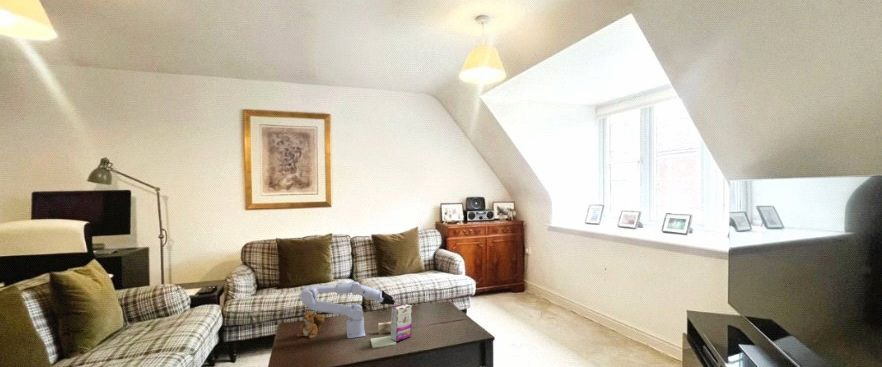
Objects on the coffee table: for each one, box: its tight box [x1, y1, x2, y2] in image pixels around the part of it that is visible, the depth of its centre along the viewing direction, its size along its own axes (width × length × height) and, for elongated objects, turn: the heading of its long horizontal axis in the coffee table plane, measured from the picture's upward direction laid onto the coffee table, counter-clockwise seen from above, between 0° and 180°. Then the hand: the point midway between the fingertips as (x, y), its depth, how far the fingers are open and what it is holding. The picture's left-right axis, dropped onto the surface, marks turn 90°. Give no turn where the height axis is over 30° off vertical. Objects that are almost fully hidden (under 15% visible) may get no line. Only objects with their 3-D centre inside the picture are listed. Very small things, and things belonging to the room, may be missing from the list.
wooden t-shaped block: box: [377, 319, 391, 334], centre depth 212 cm, size 8×7×5 cm
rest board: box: [370, 335, 397, 349], centre depth 198 cm, size 12×10×1 cm
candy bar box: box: [390, 303, 413, 342], centre depth 202 cm, size 11×5×16 cm, turn 140°
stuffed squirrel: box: [296, 310, 326, 339], centre depth 211 cm, size 10×14×13 cm
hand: (393, 301), depth 214 cm, fingers open, 7 cm apart
